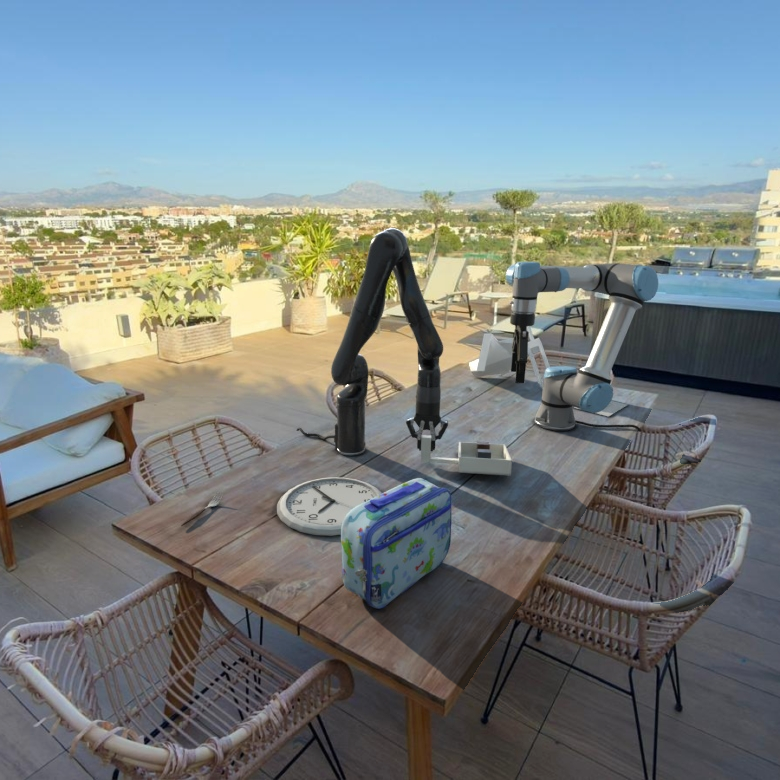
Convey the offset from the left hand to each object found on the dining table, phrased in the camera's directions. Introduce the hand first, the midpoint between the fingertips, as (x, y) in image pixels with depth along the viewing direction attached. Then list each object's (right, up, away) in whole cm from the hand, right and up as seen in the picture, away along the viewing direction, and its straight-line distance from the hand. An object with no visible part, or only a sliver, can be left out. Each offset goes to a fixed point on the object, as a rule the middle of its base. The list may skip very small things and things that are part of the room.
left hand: (426, 449), depth 167 cm
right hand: (+30, +23, +4) cm, 38 cm away
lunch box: (-10, -22, -54) cm, 59 cm away
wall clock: (-27, -12, -24) cm, 38 cm away
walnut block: (+19, -3, +4) cm, 19 cm away
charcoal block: (+17, -4, -7) cm, 19 cm away
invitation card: (+80, +12, +60) cm, 100 cm away
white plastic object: (+47, +22, +91) cm, 105 cm away
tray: (+12, -4, -1) cm, 13 cm away
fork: (-61, -13, -29) cm, 69 cm away
